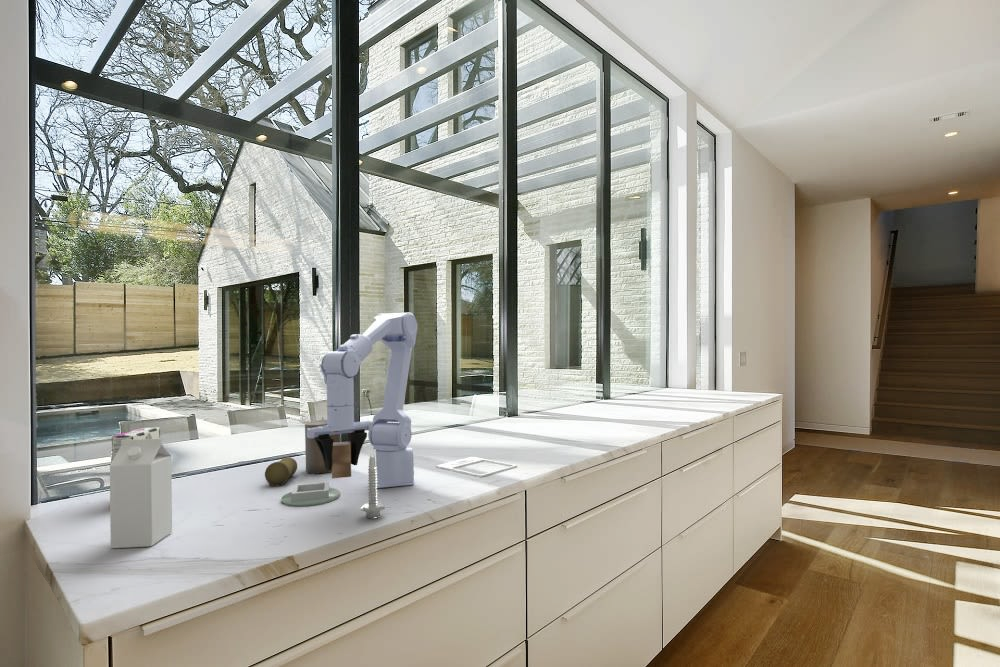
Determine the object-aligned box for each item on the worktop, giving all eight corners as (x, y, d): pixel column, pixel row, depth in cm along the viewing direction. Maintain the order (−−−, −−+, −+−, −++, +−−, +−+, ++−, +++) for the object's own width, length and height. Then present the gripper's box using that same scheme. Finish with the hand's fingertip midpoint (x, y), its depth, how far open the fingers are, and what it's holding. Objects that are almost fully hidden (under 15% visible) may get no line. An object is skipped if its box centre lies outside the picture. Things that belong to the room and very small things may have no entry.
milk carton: (133, 534, 103) (132, 436, 103) (172, 533, 104) (171, 435, 104) (110, 549, 96) (109, 443, 96) (151, 547, 97) (150, 442, 97)
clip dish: (339, 487, 134) (339, 478, 134) (340, 502, 121) (340, 492, 121) (284, 492, 130) (284, 483, 130) (278, 509, 117) (278, 498, 117)
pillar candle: (348, 468, 154) (347, 416, 155) (320, 475, 146) (319, 420, 146) (325, 464, 160) (324, 414, 160) (297, 471, 151) (296, 418, 152)
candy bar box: (141, 494, 131) (140, 427, 131) (162, 493, 131) (161, 426, 132) (111, 508, 120) (110, 435, 120) (134, 507, 120) (133, 434, 120)
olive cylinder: (282, 457, 137) (293, 450, 148) (260, 469, 136) (273, 461, 147) (293, 478, 137) (304, 469, 148) (271, 490, 136) (284, 480, 147)
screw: (376, 511, 115) (389, 516, 111) (356, 517, 111) (369, 522, 108) (375, 450, 115) (388, 453, 111) (355, 454, 111) (368, 457, 108)
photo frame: (472, 456, 164) (517, 464, 152) (472, 459, 164) (517, 468, 152) (436, 464, 153) (481, 474, 141) (436, 468, 153) (481, 479, 141)
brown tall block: (350, 472, 121) (350, 441, 121) (351, 476, 117) (350, 444, 117) (332, 474, 120) (331, 442, 120) (332, 478, 116) (331, 446, 116)
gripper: (363, 400, 126) (364, 458, 126) (301, 406, 117) (302, 468, 117) (376, 403, 121) (377, 463, 121) (313, 409, 111) (314, 474, 111)
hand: (341, 466), depth 118 cm, fingers closed on brown tall block, 5 cm apart
